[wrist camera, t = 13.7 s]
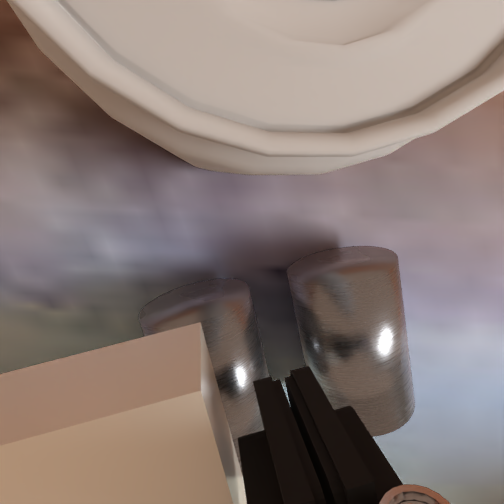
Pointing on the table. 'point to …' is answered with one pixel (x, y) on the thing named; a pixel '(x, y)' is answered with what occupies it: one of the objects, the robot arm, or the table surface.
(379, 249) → the cylinder
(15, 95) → the table surface
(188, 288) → the cylinder
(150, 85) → the beverage can
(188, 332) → the slab
